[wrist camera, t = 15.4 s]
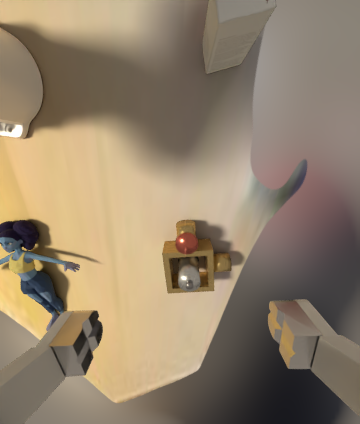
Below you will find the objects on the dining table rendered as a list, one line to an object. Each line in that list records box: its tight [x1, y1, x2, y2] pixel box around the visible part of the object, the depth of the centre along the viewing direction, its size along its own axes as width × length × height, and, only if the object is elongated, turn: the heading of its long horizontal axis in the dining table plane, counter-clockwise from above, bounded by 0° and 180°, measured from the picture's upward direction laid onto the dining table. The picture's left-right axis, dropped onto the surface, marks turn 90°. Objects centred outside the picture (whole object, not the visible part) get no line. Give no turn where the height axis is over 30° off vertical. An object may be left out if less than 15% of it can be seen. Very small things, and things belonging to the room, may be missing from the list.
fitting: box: [162, 220, 231, 293], centre depth 37 cm, size 14×15×6 cm
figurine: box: [0, 220, 80, 331], centre depth 41 cm, size 22×26×5 cm
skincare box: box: [202, 0, 276, 74], centre depth 22 cm, size 6×4×12 cm
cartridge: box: [178, 256, 201, 292], centre depth 37 cm, size 5×5×9 cm
